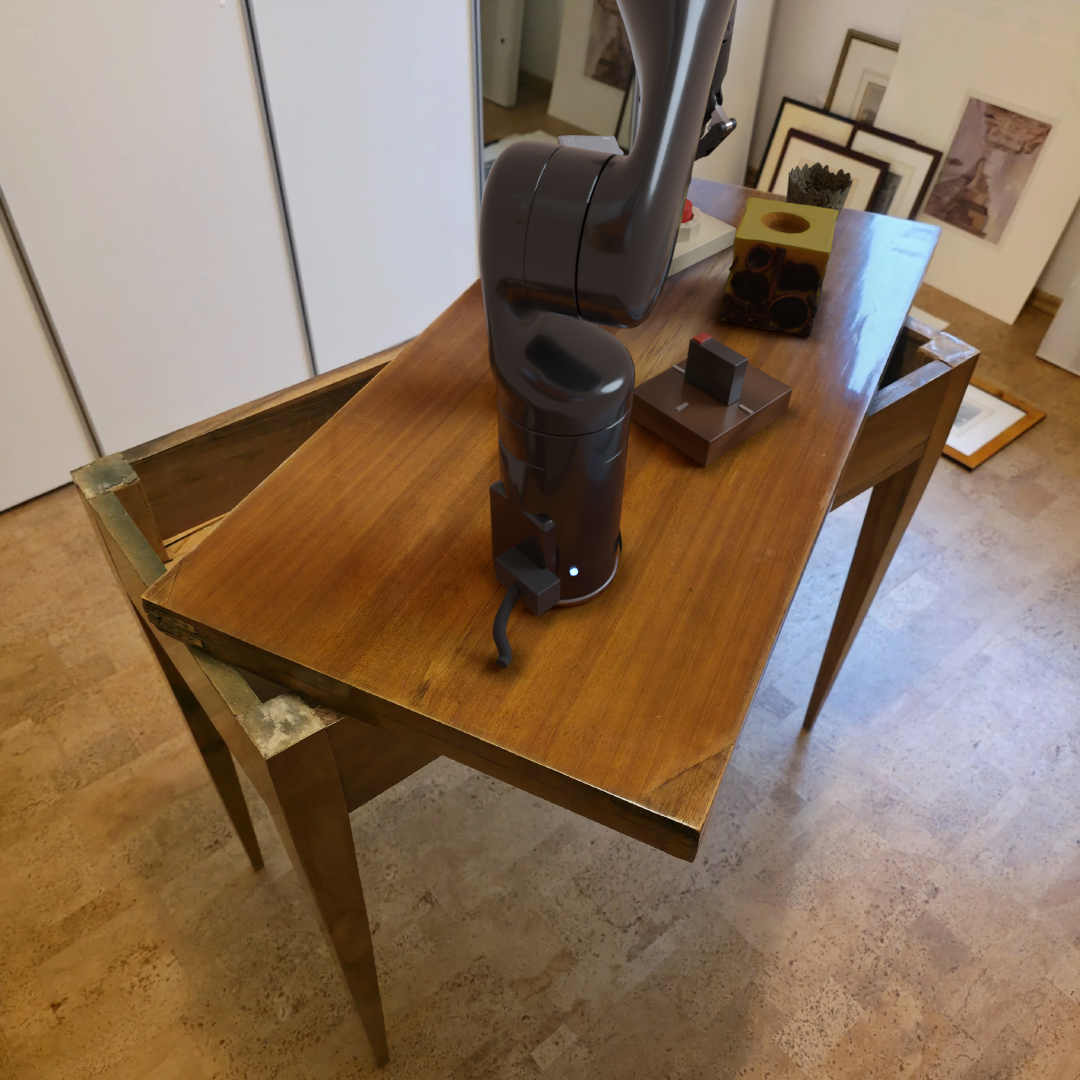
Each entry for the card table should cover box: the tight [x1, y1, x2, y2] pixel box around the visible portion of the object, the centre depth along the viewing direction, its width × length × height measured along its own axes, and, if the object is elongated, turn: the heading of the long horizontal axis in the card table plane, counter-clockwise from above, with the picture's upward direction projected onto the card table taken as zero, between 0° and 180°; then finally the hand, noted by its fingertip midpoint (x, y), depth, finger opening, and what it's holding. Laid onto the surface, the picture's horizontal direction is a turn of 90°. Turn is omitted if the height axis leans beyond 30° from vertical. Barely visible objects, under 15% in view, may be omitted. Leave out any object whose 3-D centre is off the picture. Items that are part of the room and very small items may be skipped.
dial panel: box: [631, 357, 793, 468], centre depth 84 cm, size 12×10×3 cm
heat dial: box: [684, 331, 749, 406], centre depth 81 cm, size 6×2×5 cm, turn 41°
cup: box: [785, 161, 854, 222], centre depth 106 cm, size 8×7×8 cm
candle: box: [718, 196, 838, 338], centre depth 95 cm, size 10×10×10 cm
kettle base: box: [667, 205, 737, 278], centre depth 107 cm, size 12×10×4 cm
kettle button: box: [681, 198, 694, 223], centre depth 105 cm, size 4×4×2 cm
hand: (676, 189), depth 103 cm, fingers closed
